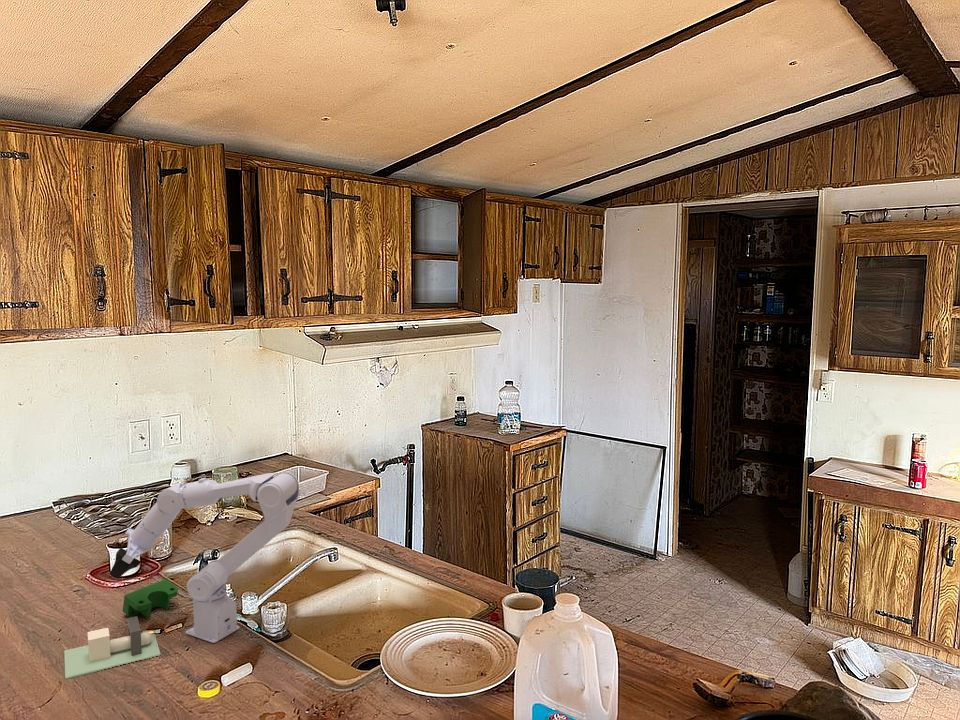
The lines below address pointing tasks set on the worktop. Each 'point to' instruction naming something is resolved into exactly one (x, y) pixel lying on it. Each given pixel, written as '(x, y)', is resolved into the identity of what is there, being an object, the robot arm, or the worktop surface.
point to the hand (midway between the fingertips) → (121, 566)
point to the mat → (80, 663)
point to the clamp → (149, 598)
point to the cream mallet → (110, 644)
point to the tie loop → (134, 635)
